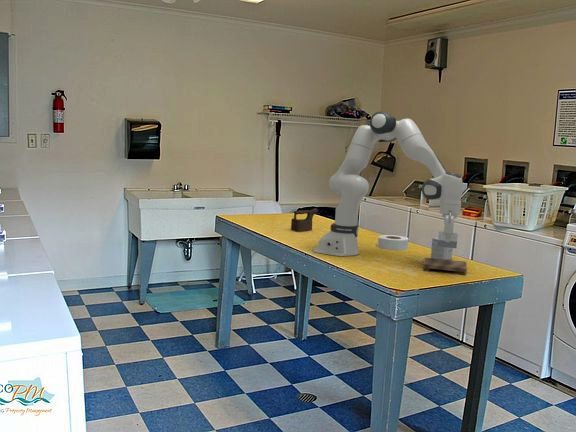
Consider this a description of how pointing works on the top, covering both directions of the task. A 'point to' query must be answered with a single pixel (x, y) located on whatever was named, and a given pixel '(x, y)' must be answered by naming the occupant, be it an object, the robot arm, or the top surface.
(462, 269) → the stand
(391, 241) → the roll of tape
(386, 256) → the top surface
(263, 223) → the top surface
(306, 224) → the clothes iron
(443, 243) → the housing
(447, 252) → the light bulb box
